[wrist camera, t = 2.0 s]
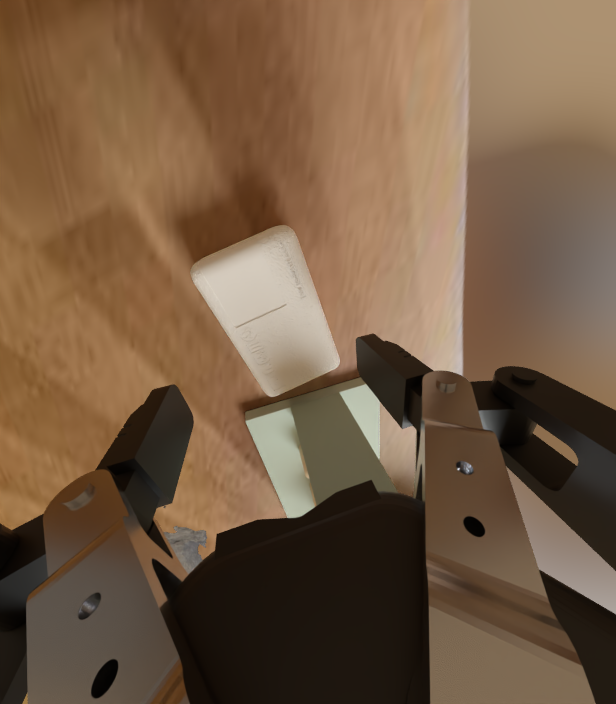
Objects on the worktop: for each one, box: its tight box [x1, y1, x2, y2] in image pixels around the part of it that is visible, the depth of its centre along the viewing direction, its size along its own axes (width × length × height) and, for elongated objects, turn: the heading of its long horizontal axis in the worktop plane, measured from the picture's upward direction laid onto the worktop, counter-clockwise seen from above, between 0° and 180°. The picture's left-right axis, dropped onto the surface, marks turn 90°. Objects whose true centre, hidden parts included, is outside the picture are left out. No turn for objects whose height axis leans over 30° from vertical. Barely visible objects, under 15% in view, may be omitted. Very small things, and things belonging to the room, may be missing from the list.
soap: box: [190, 225, 340, 397], centre depth 14 cm, size 9×6×3 cm, turn 21°
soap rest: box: [245, 377, 398, 518], centre depth 19 cm, size 16×11×9 cm
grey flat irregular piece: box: [163, 506, 207, 574], centre depth 24 cm, size 18×2×10 cm
